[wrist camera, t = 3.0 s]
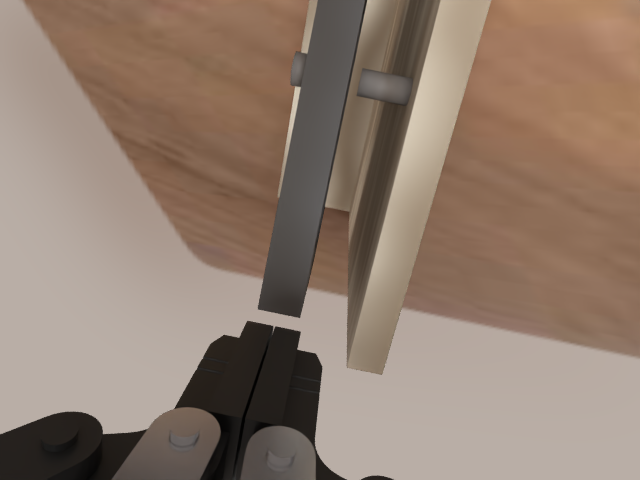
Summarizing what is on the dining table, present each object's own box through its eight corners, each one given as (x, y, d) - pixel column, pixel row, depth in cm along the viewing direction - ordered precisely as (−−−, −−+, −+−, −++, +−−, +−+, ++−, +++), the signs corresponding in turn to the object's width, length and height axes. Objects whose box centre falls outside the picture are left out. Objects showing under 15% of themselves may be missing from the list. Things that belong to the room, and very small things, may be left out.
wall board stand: (466, -36, 35) (737, -335, 10) (398, 217, 42) (464, 391, 18) (322, -66, 35) (256, -433, 10) (279, 193, 42) (181, 333, 18)
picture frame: (368, -4, 28) (406, -204, 14) (313, 262, 30) (299, 318, 16) (336, -11, 28) (344, -217, 14) (283, 256, 30) (244, 306, 16)
